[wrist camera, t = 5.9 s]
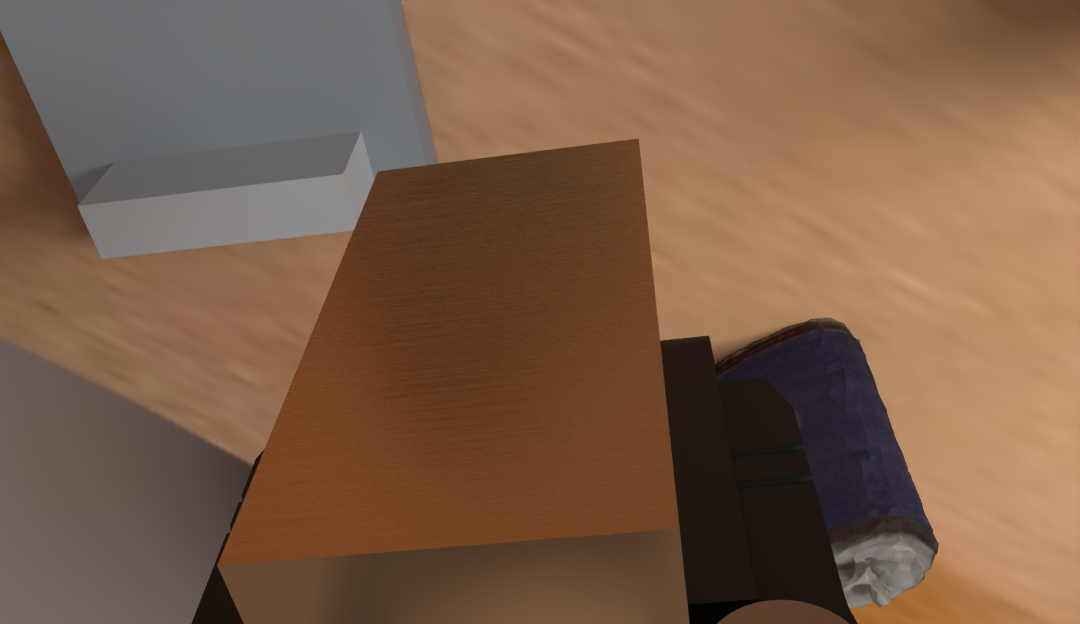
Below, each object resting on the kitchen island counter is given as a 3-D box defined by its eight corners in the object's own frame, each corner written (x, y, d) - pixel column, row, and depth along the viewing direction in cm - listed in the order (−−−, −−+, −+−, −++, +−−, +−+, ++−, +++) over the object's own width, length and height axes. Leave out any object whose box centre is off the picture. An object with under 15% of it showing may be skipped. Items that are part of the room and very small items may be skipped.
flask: (647, 485, 36) (669, 766, 27) (595, 437, 35) (599, 715, 26) (875, 352, 33) (984, 627, 24) (825, 294, 31) (921, 560, 22)
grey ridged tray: (-71, -212, 24) (-175, -183, 21) (336, -282, 23) (294, -264, 20) (121, 225, 31) (65, 299, 27) (442, 187, 30) (425, 260, 26)
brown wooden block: (378, 171, 12) (217, 566, 7) (638, 138, 11) (679, 529, 6) (461, 491, 14) (393, 946, 9) (674, 473, 14) (723, 935, 9)
